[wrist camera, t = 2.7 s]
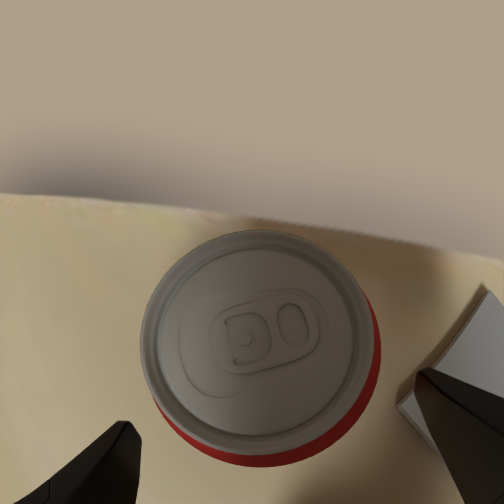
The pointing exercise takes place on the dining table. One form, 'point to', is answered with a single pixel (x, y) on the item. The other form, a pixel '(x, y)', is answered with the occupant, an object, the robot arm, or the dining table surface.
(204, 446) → the beverage can
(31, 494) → the robot arm
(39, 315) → the dining table surface
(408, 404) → the trivet
